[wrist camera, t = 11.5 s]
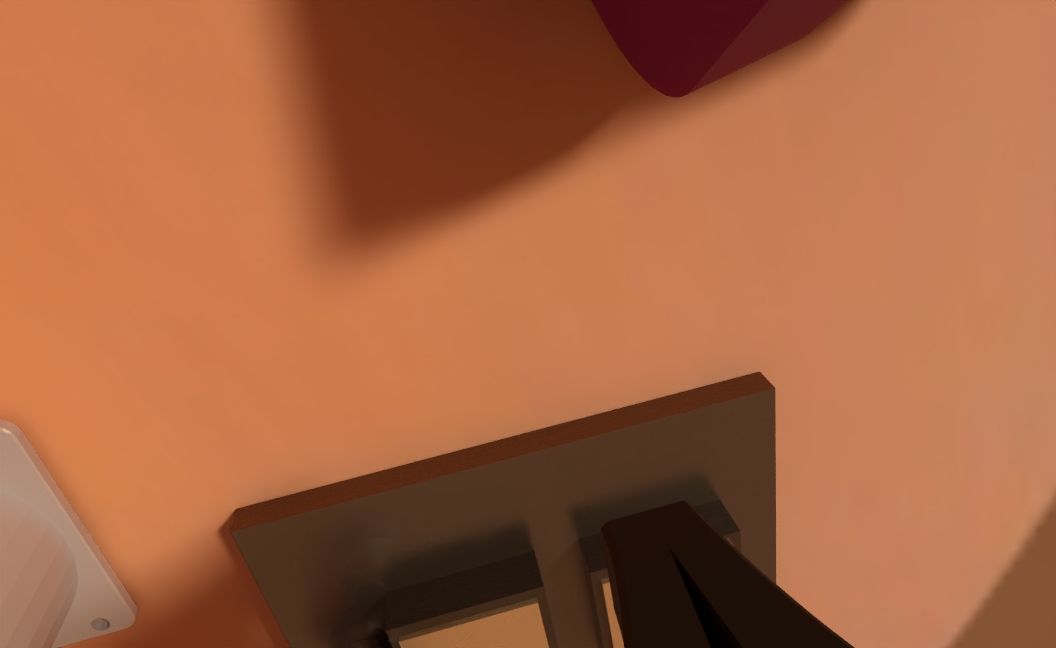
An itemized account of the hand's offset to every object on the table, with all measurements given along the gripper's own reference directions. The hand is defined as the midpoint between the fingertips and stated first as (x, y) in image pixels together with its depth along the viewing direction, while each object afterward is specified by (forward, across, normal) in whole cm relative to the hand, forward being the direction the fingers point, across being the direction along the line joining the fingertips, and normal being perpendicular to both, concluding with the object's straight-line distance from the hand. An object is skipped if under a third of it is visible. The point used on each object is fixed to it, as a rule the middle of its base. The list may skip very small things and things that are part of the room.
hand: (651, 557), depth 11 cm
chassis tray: (+10, +2, +12) cm, 16 cm away
